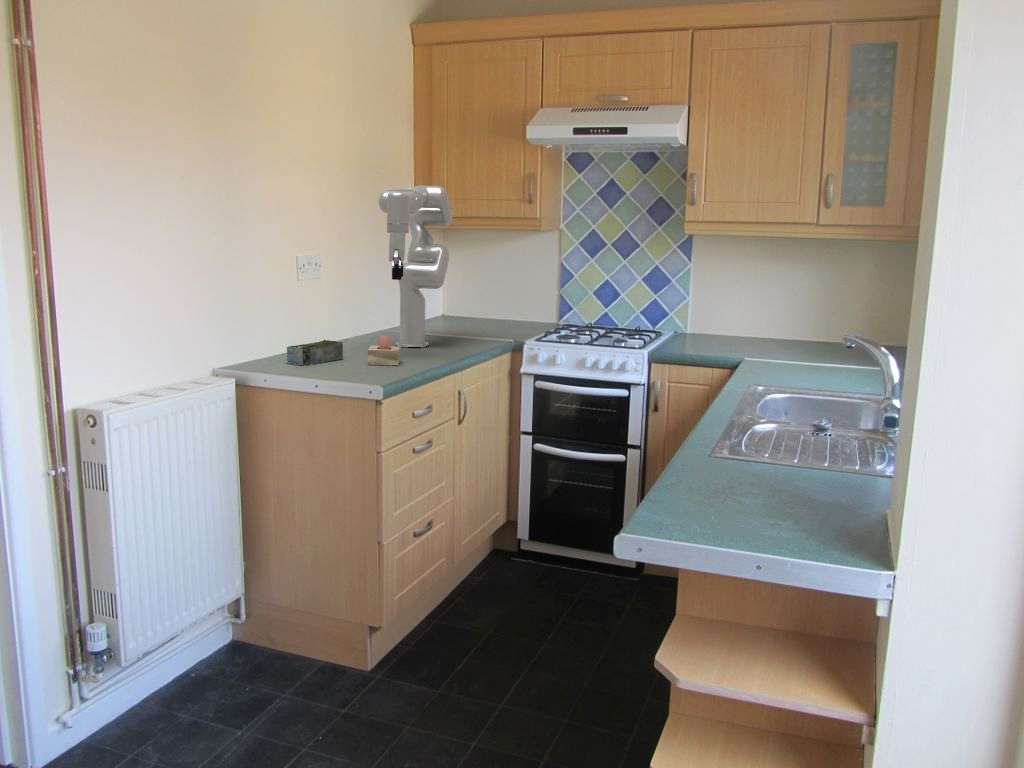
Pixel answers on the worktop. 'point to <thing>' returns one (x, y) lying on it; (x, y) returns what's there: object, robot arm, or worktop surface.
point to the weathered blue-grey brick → (315, 352)
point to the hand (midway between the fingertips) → (397, 278)
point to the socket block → (384, 355)
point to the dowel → (384, 342)
